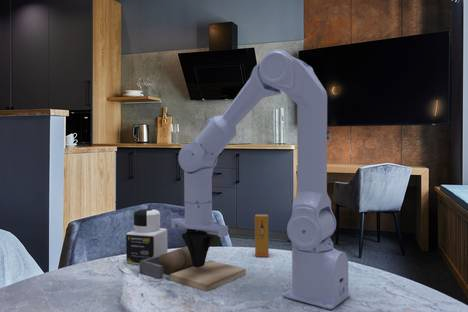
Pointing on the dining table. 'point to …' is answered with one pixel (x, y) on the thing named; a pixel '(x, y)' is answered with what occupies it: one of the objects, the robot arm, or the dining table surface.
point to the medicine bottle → (146, 237)
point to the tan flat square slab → (207, 275)
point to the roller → (175, 260)
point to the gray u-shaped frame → (151, 267)
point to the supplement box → (261, 236)
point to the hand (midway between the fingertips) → (198, 266)
